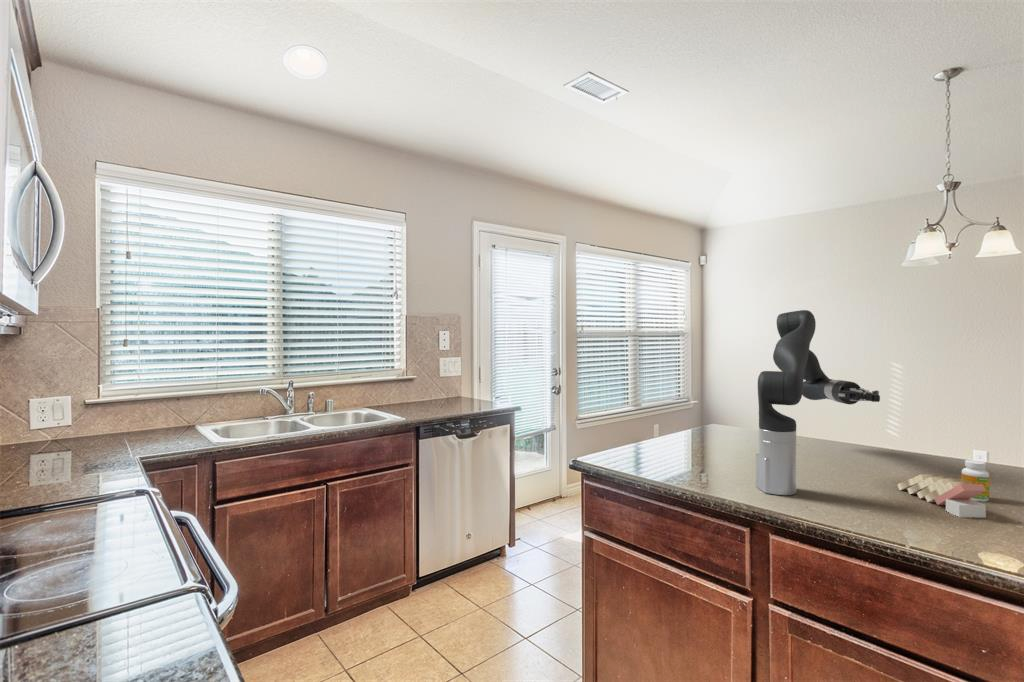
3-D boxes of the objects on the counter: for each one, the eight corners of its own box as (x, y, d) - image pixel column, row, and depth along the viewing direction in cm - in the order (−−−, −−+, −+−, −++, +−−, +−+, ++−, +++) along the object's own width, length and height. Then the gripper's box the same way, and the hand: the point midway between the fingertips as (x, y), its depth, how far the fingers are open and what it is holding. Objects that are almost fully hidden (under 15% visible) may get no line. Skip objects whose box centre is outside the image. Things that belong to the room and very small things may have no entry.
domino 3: (919, 498, 132) (944, 484, 124) (916, 492, 133) (940, 478, 125) (939, 499, 132) (965, 484, 124) (936, 493, 133) (961, 478, 125)
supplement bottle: (979, 502, 129) (979, 465, 129) (955, 496, 134) (956, 460, 134) (994, 500, 130) (994, 463, 130) (970, 494, 135) (970, 458, 135)
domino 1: (899, 490, 139) (923, 480, 131) (897, 484, 140) (920, 474, 132) (918, 490, 139) (943, 480, 131) (915, 484, 140) (940, 474, 131)
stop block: (959, 517, 119) (959, 504, 119) (945, 511, 123) (945, 499, 123) (985, 517, 119) (985, 505, 119) (971, 511, 123) (971, 499, 123)
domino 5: (937, 504, 126) (964, 490, 118) (934, 498, 127) (960, 483, 119) (957, 504, 126) (986, 490, 118) (954, 498, 127) (982, 483, 119)
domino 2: (909, 494, 136) (933, 482, 127) (907, 488, 137) (931, 476, 128) (928, 494, 135) (954, 482, 127) (926, 488, 136) (951, 476, 128)
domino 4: (927, 502, 129) (953, 488, 121) (924, 496, 130) (949, 481, 122) (947, 502, 129) (974, 488, 121) (944, 496, 130) (971, 481, 122)
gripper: (822, 380, 169) (854, 386, 152) (862, 380, 169) (900, 385, 151) (822, 402, 169) (854, 410, 152) (862, 402, 169) (899, 410, 152)
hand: (877, 398), depth 152 cm, fingers closed
